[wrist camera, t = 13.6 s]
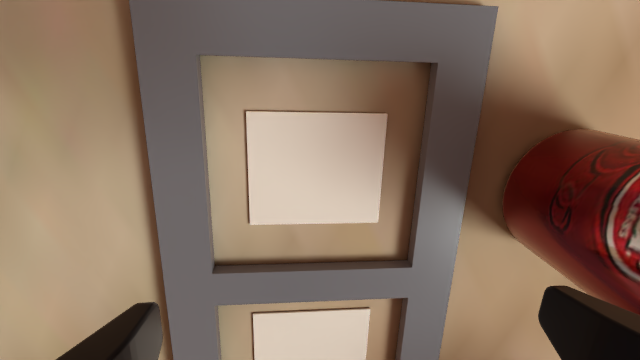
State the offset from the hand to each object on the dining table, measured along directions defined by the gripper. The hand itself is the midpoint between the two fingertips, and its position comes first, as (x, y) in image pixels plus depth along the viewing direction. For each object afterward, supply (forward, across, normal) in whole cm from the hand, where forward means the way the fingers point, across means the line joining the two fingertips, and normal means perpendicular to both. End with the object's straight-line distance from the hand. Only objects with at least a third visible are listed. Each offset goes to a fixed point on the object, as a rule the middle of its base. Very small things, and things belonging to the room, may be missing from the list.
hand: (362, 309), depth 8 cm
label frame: (+11, 0, +5) cm, 12 cm away
